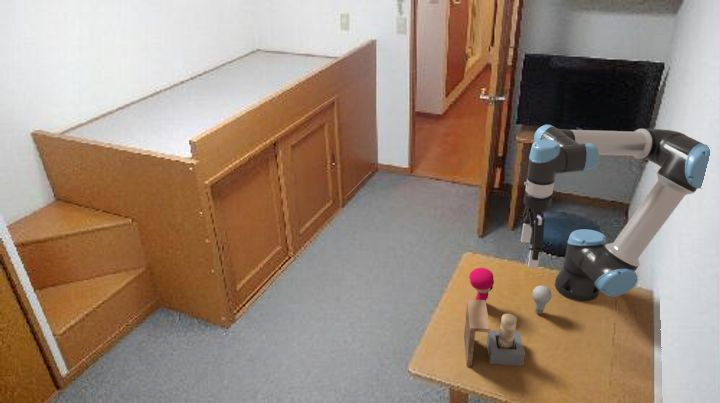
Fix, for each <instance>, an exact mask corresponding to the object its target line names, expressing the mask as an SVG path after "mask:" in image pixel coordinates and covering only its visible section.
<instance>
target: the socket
mask: <svg viewBox="0 0 720 403" xmlns="http://www.w3.org/2000/svg"><path fill="white" fill-rule="evenodd" d="M499 333H500V330H490V331H489V332H487V336H486V345H487V351H488V359H489V364H490V365H502V366H503V365H504V366H521V367H522V366H524V360H525V355H526V354H525V350H524V346H523V341H522V337H521V332H519V331H515V335H514V341H513V348H512V349H499V348H498V341H499Z"/></svg>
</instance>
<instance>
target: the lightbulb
mask: <svg viewBox="0 0 720 403" xmlns="http://www.w3.org/2000/svg"><path fill="white" fill-rule="evenodd" d="M531 295H532V299H533V300H534V303H535V304H534V307H535V309H534V310H535V311H534V312H535V313H536V314H539V315H542V314H543V313H544V310H545V308H546V305H547V304H548V303H549V302H550V301H551V299H552V296H553V295H552V292H551V289H550V288H549V287H548V286H547V285H546V286H545V285H537V286H536V287H534V289H533V290H532V294H531Z"/></svg>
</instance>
